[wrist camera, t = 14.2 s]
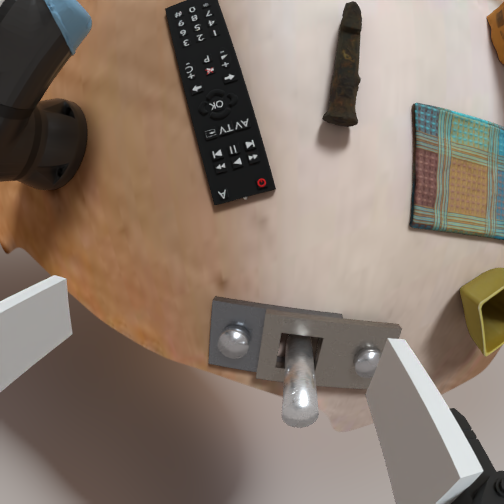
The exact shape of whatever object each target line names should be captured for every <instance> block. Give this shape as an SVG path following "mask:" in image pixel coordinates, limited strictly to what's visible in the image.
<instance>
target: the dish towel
mask: <svg viewBox="0 0 504 504" xmlns="http://www.w3.org/2000/svg"><path fill="white" fill-rule="evenodd" d="M412 118H413V140H414V153H413V154H414V155H413V189H412V209H411V213H412V214H411V222H410V226H411V227H414V228H420V229H428V230H436V231H444V232H453V233H461V234H468V235H477V236H483V237H489V238H495V239H502V240H504V127H502V126H500V125H497V124H494V123H492V122H489V121H485V120H482V119H479V118H476V117H472V116H469V115H465V114H462V113H458V112H454V111H451V110H448V109H444V108H440V107H435V106H430V105H425V104H420V103H415V104H413V106H412Z"/></svg>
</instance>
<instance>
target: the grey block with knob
mask: <svg viewBox="0 0 504 504" xmlns="http://www.w3.org/2000/svg"><path fill="white" fill-rule="evenodd" d="M401 330H402V328H401V327H400V326H399V324H393V323H382V322H371V321H361V320H351V319H342V318H333V317H324V316H316V315H308V314H300V313H293V312H286V311H278V310H271V309H266V314H265V321H264V328H263V334H262V341H261V348H260V354H259V361H258V367H257V374H256V378H258V379H264V380H271V381H279V382H284V372H285V363H283V362H276V360H277V354H278V349H279V343H280V338H281V333H288V334H296V335H303V336H312V337H320V338H321V341H320V346H319V350H318V354H317V358H316V362H315V365H314V370H315V380H316V386H325V387H338V388H355V389H368V387H369V385H370V382H371V380H372V378H373V375H374V373H375V370H376V368H377V365H378V363H379V360H380V357H381V355H382V352H383V349H384V347H385V344H386V341H387V338H392V339H399V336H400V333H401Z"/></svg>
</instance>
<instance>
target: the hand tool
mask: <svg viewBox="0 0 504 504" xmlns="http://www.w3.org/2000/svg"><path fill="white" fill-rule="evenodd" d="M361 22H362V17H361V10H360V8H359V6H358V4H357V3H356V2H353V1H352V2H350V3H346V5H345V8H344V11H343V18H342V21H341V25H340V29H339V40H338V46H337V53H336V59H335V69H334V75H333V79H332V83H331V92H330V103H329V108H328V112H327V113H326V114H325V115H324V116H323V118H322V119H323V120H324V121H326V122H328V123H333V124H336V125H340V126H347V127H349V126H354V125H357V123H358V120H357V116H356V112H355V104H356V96H357V91H358V88H359V87H358V85H359V83H360V77H359V75H358V68H359V47H360V32H361V28H362V27H361V26H362V23H361Z"/></svg>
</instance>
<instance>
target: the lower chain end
mask: <svg viewBox="0 0 504 504" xmlns="http://www.w3.org/2000/svg"><path fill="white" fill-rule="evenodd" d="M266 309H271V310H278V311H286V312H293V313H300V314H308V315H316V316H324V317H333V318H342V319H343V316H342V314H337V313H328V312H320V311H312V310H304V309H297V308H289V307H282V306H275V305H268V304H261V303H255V302H248V301H242V300H235V299H229V298H223V297H217V296H215V298H214V299H213V302H212V316H211V331H210V347H209V364H214V365H219V366H224V367H229V368H235V369H241V370H246V371H253V372H257V367H258V361H259V354H260V348H261V341H262V334H263V328H264V321H265V314H266ZM320 341H321V338H320V337H319V341H318V345H317V349H316V353H315V357H314V365H315V362H316V358H317V354H318V350H319V346H320ZM276 362H283V363H285V357H280V356H277V360H276Z"/></svg>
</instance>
